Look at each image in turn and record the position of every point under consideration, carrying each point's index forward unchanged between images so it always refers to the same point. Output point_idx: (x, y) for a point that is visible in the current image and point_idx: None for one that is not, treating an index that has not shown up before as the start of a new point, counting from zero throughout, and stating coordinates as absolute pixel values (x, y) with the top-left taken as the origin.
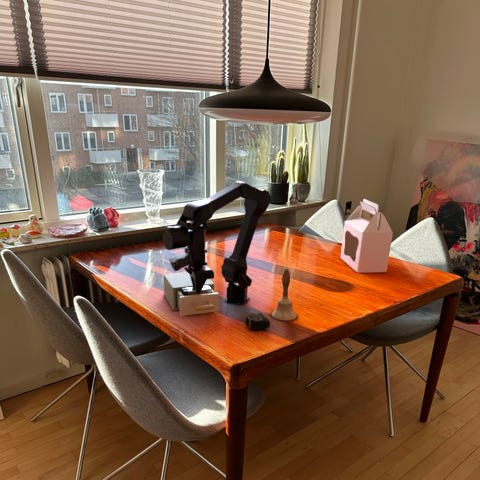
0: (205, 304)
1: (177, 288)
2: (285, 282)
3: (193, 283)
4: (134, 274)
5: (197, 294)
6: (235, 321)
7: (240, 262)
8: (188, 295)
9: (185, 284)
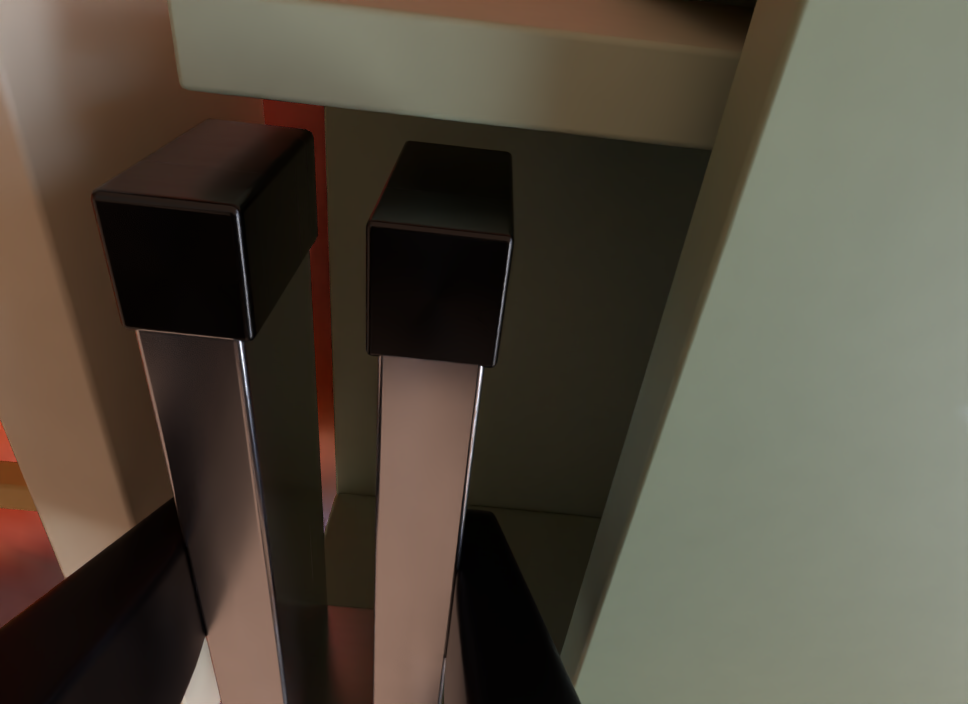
0: None
1: (748, 87)
2: None
3: (462, 691)
4: None
5: (109, 474)
6: (21, 518)
7: None
8: (40, 243)
9: (851, 477)
